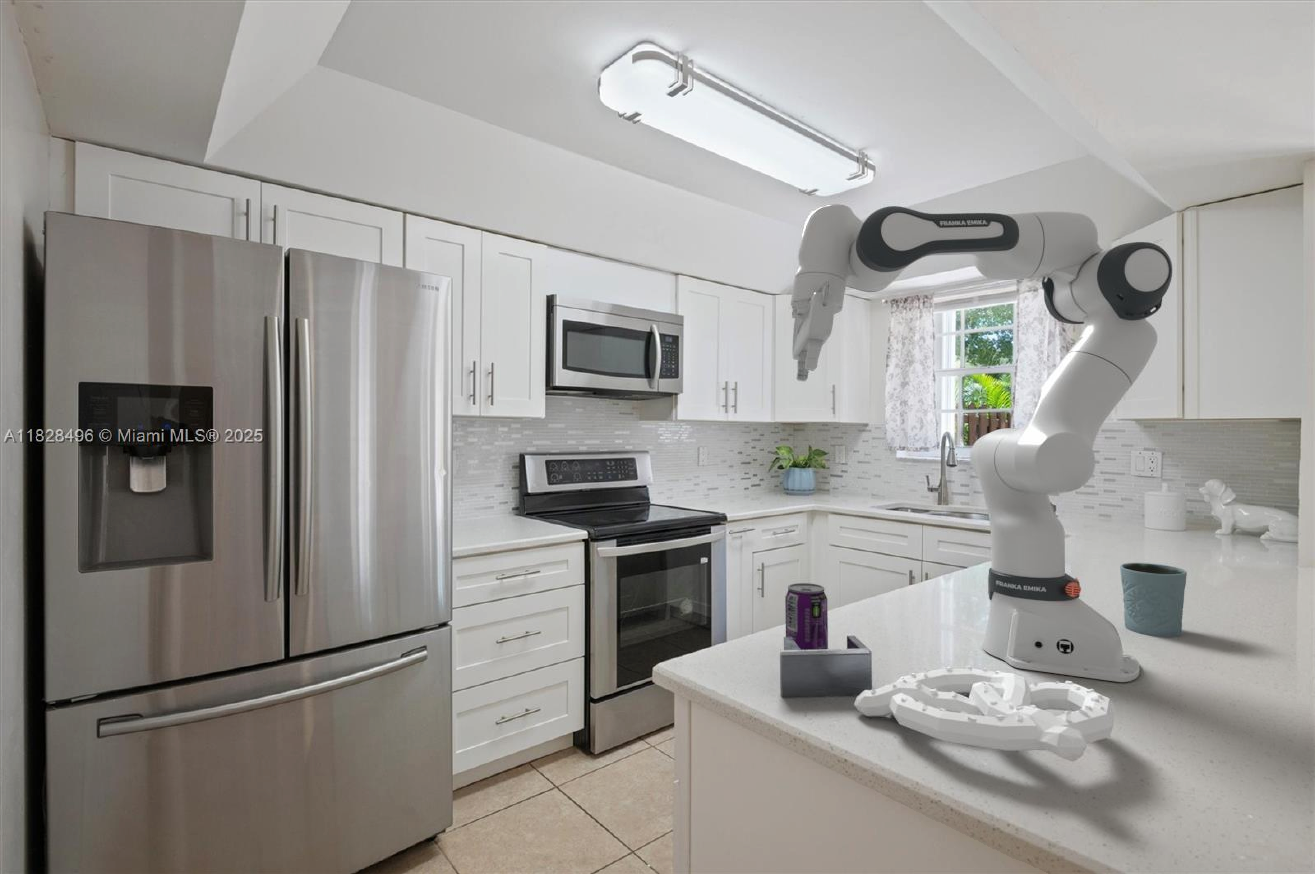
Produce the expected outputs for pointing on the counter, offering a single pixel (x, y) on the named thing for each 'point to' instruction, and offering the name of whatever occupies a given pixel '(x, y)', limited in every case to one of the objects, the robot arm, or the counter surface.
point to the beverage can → (807, 616)
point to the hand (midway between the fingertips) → (805, 375)
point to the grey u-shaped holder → (825, 670)
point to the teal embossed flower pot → (1153, 598)
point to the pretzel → (994, 710)
